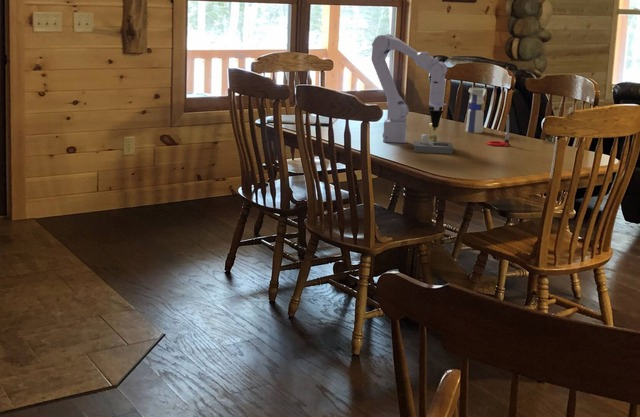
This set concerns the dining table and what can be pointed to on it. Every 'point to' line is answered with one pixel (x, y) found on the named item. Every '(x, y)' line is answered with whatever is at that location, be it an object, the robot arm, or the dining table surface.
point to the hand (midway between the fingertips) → (434, 125)
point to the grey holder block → (432, 146)
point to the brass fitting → (433, 133)
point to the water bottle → (476, 109)
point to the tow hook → (505, 137)
